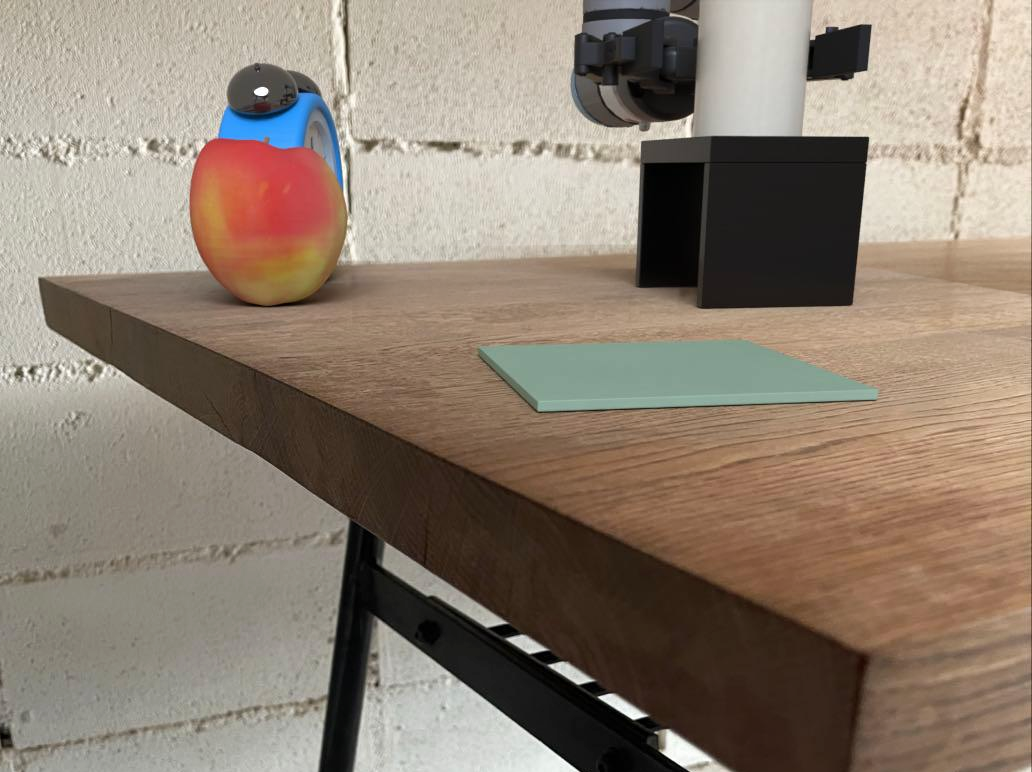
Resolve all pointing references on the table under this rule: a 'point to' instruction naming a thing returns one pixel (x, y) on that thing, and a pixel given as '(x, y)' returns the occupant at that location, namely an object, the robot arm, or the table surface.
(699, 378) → the mat
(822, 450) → the table surface
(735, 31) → the cup
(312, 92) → the alarm clock
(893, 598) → the table surface
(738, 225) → the shelf
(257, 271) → the apple
